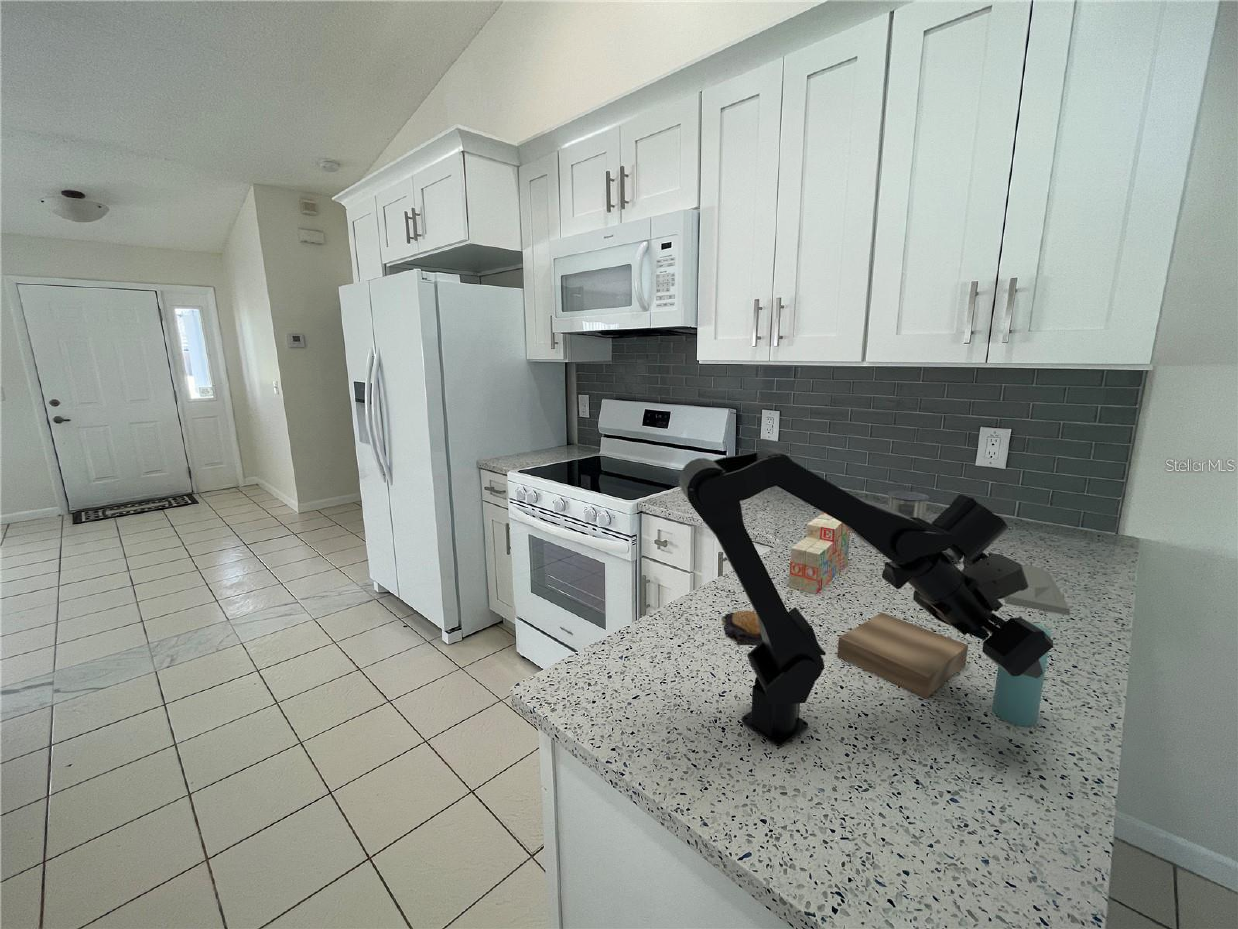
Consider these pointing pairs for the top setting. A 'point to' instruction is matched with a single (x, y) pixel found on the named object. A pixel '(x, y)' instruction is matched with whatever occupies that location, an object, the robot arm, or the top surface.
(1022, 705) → the teal post
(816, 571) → the stack of blocks
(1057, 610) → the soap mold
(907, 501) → the milk frother
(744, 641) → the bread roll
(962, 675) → the top surface
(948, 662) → the walnut plinth
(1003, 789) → the top surface
